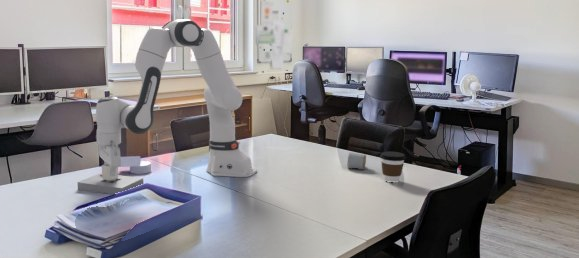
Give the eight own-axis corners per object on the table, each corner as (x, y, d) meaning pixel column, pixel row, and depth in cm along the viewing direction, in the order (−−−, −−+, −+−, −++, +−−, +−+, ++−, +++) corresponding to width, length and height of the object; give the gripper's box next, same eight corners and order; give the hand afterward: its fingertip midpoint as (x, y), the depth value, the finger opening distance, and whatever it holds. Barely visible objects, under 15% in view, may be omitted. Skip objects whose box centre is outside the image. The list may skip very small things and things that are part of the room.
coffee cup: (404, 185, 208) (406, 158, 206) (378, 183, 210) (379, 156, 208) (403, 178, 219) (405, 152, 216) (378, 176, 221) (380, 150, 218)
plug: (118, 180, 197) (117, 161, 195) (111, 183, 193) (110, 163, 191) (109, 179, 198) (108, 160, 196) (102, 182, 194) (101, 162, 192)
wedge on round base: (119, 174, 214) (150, 173, 217) (118, 159, 213) (150, 158, 216) (121, 168, 223) (151, 167, 226) (120, 154, 221) (151, 153, 224)
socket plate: (143, 185, 200) (143, 176, 199) (122, 195, 186) (121, 186, 186) (101, 180, 205) (100, 171, 204) (77, 189, 192) (77, 180, 191)
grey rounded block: (364, 171, 229) (365, 155, 228) (346, 169, 231) (347, 153, 229) (366, 166, 239) (367, 150, 238) (349, 164, 241) (350, 149, 240)
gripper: (124, 143, 185) (125, 179, 188) (111, 133, 202) (112, 166, 205) (107, 144, 182) (108, 181, 184) (94, 134, 199) (96, 168, 201)
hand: (110, 173), depth 195 cm, fingers closed on plug, 6 cm apart
